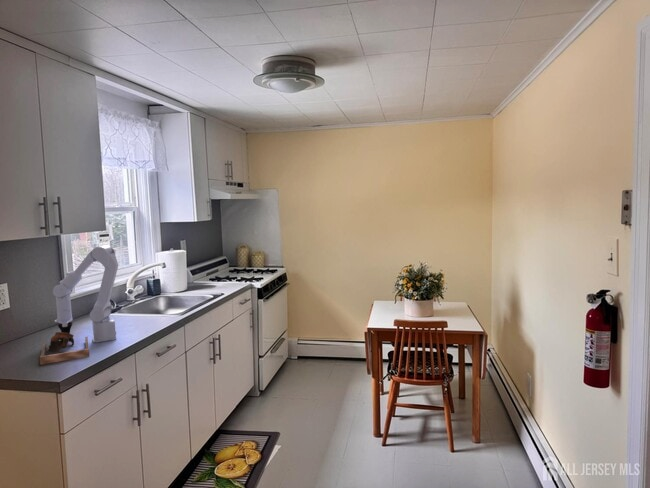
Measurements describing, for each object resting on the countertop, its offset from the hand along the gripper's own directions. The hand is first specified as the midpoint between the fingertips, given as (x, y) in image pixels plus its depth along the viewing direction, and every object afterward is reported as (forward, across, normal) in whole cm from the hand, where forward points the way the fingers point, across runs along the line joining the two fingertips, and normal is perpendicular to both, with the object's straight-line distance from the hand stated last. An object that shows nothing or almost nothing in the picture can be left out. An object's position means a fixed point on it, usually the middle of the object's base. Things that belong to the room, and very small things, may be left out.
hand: (66, 338), depth 200 cm
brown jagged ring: (+2, +10, -1) cm, 11 cm away
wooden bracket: (+1, +17, 0) cm, 17 cm away
